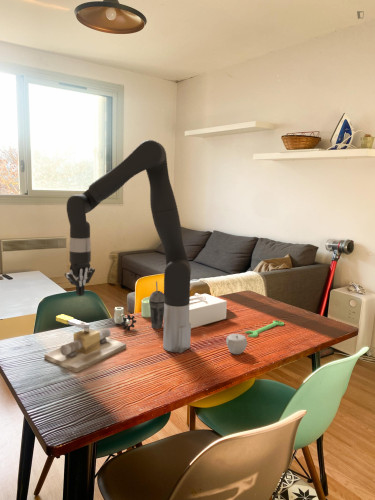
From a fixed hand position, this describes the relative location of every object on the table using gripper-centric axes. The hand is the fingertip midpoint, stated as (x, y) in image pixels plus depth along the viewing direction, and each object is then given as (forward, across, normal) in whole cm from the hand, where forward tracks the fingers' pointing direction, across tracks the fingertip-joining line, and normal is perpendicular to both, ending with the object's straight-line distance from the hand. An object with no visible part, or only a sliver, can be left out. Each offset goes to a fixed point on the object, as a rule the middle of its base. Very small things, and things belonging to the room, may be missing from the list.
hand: (80, 295), depth 140 cm
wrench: (+18, +56, -53) cm, 79 cm away
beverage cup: (+18, +29, -15) cm, 37 cm away
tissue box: (+18, +47, -23) cm, 55 cm away
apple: (+17, +27, -53) cm, 62 cm away
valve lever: (+10, -6, -4) cm, 12 cm away
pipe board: (+18, -6, -11) cm, 21 cm away
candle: (+18, +37, -3) cm, 41 cm away
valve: (+18, +21, -2) cm, 28 cm away
